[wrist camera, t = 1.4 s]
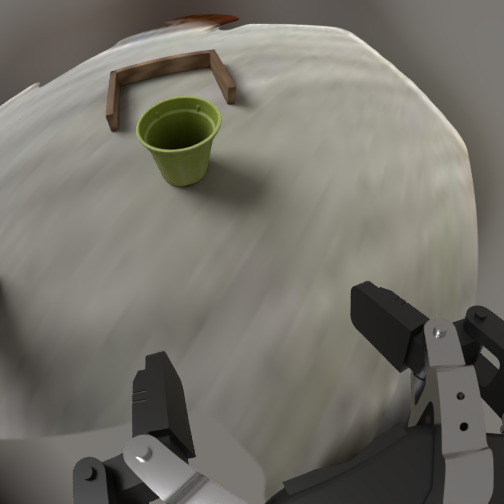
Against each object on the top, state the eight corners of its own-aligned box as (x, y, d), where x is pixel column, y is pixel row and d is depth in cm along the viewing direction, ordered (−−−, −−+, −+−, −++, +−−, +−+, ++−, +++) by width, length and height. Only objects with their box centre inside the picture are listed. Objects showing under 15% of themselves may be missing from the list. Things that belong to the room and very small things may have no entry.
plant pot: (233, 156, 36) (236, 107, 28) (198, 209, 32) (192, 162, 24) (175, 136, 36) (168, 89, 28) (137, 183, 33) (119, 137, 25)
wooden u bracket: (111, 131, 36) (105, 115, 33) (114, 85, 41) (110, 71, 38) (234, 103, 40) (235, 86, 37) (214, 63, 45) (214, 49, 42)
